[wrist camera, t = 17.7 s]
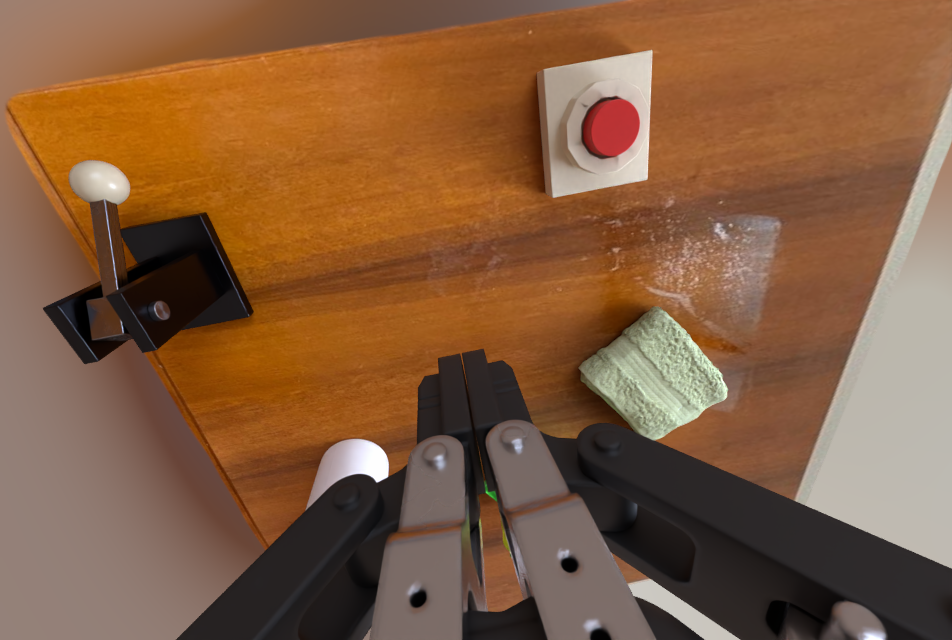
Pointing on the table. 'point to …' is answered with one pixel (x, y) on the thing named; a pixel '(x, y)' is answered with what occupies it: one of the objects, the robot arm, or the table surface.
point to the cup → (349, 464)
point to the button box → (565, 112)
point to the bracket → (160, 288)
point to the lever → (104, 240)
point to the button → (611, 127)
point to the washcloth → (654, 376)
